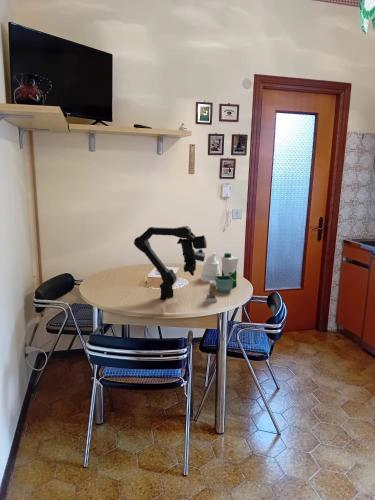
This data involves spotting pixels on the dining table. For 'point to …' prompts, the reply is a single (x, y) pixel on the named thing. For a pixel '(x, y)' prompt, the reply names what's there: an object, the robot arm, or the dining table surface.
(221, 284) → the flower pot
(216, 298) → the slate board
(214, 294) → the block
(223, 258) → the milk carton
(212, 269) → the white rounded cone
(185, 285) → the dining table surface
